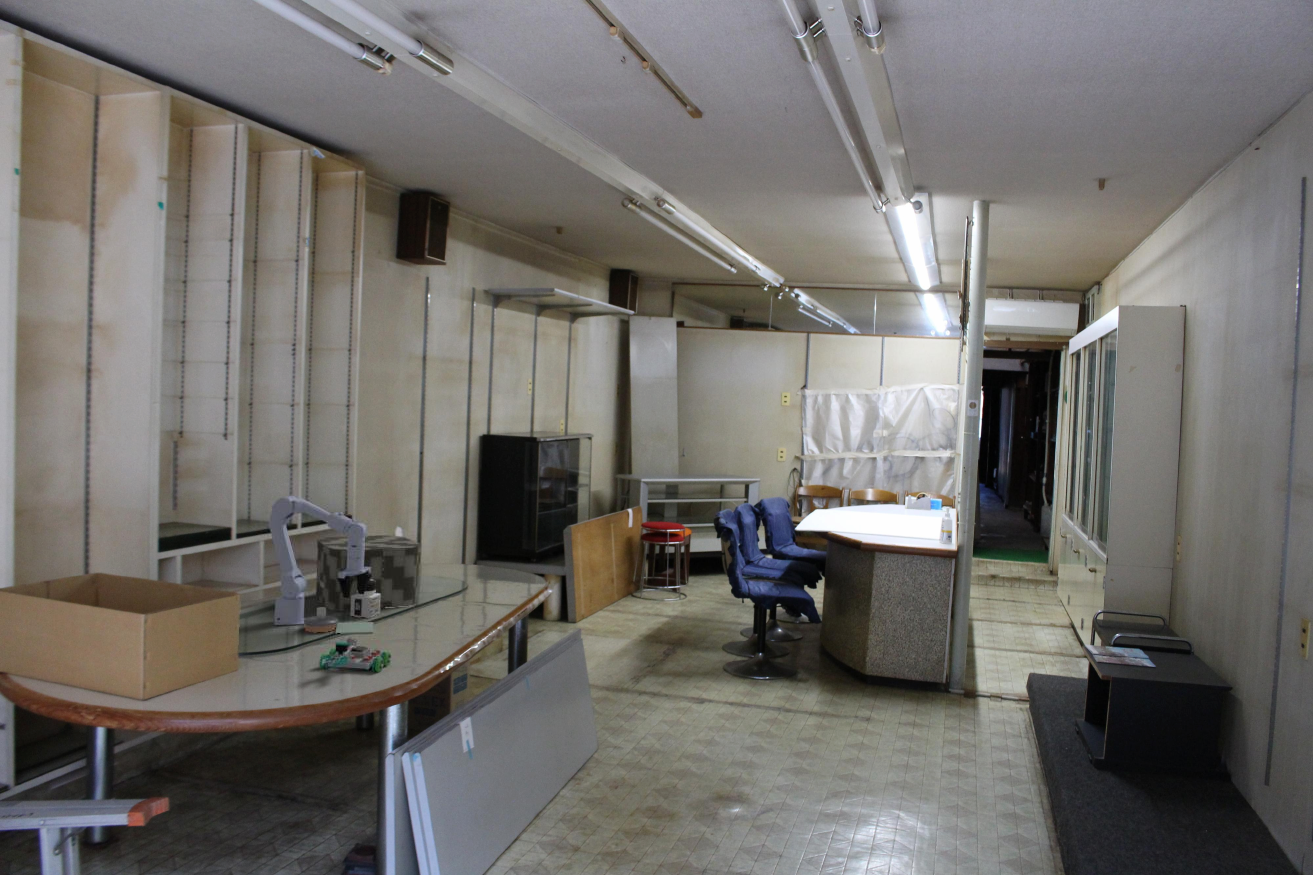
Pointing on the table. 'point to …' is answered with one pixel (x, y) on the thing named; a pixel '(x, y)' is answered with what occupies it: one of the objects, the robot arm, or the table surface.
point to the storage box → (389, 569)
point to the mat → (354, 628)
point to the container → (366, 602)
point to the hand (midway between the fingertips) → (353, 595)
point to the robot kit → (355, 656)
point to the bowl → (320, 628)
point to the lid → (321, 618)
